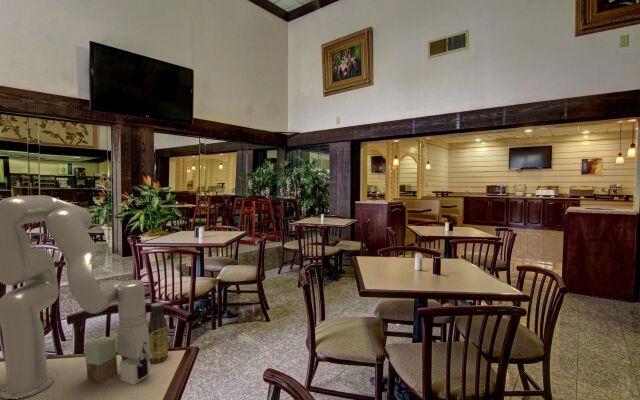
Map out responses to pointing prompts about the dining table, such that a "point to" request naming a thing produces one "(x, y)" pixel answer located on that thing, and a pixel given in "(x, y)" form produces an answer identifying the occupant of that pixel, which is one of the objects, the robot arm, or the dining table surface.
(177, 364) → the dining table surface
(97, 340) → the sage cube
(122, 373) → the stone cube
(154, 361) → the sauce bottle
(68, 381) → the dining table surface
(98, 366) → the walnut cube
